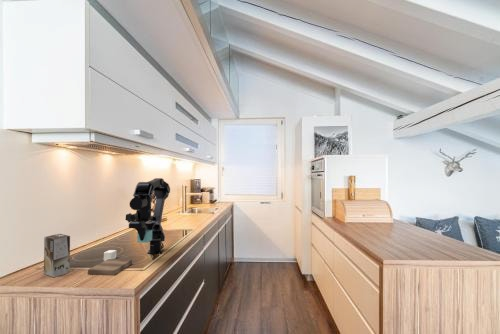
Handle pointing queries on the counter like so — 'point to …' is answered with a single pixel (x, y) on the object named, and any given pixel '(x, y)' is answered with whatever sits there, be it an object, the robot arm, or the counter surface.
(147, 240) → the teal block
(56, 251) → the coffee box
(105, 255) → the cream block
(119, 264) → the walnut base
